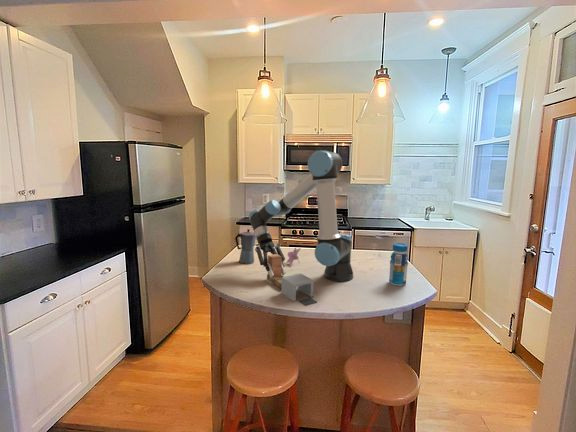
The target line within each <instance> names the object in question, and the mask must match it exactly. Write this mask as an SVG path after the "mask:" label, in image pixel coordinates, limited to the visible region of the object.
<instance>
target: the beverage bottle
mask: <svg viewBox="0 0 576 432" xmlns="http://www.w3.org/2000/svg"><path fill="white" fill-rule="evenodd" d="M392 251H393V252H392V253H391V254H390V261H389V276H388V277H389V279H388V282H389V284H391V285H393V286H397V285H398V286H399V287H401V286H402V285H403V286H405V285H406V284H407V277H408V276H407V275H408V266H409V262H408V260H409V256H408V254H407V252H408V245H407V244H406V243H401V242H396V243H395V242H394V243H393V244H392ZM398 286H397V287H398Z"/></svg>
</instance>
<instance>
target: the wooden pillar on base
mask: <svg viewBox="0 0 576 432" xmlns="http://www.w3.org/2000/svg"><path fill="white" fill-rule="evenodd" d="M267 256H268V263H270V266H271V268H272V271H273V274H274V276H273V277H272V278H271V277H270V275H269V272H268V271H267V274H266V279H267V280H269V281H270V282H272V283H274V284H273V285H274V286H277V288H280V289H281V286H282V277H285V276H284V275H283V276H282V273H281V272H282V256H280V255H278V254H274V255H273V254H269V255H268V254H267ZM267 280H266V281H267ZM270 282H269V283H270Z"/></svg>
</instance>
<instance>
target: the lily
mask: <svg viewBox="0 0 576 432" xmlns="http://www.w3.org/2000/svg"><path fill="white" fill-rule="evenodd" d="M300 250H301V248H297V247H294V248H293V251H288V252H287V257H288V259H287V260H286V263H287V264H289V267H291V266H292V264H293V262H294V261H296V260H297V261H298V263H299V264H300V261H299V256H298V254H299V252H300Z"/></svg>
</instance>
